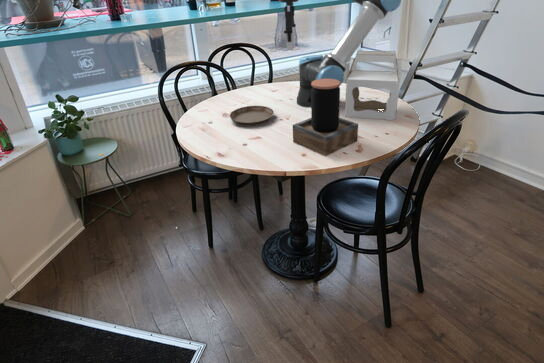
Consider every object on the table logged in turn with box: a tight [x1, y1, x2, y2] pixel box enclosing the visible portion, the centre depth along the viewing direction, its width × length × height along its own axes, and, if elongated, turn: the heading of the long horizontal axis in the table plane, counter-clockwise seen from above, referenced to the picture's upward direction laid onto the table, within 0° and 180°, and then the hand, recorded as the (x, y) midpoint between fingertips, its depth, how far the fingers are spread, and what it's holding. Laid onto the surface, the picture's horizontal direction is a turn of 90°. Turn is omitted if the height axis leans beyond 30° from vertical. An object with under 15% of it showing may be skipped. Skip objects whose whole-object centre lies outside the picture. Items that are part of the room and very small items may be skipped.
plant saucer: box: [229, 105, 275, 127], centre depth 176 cm, size 21×21×3 cm
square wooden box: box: [292, 117, 359, 157], centre depth 148 cm, size 18×18×8 cm
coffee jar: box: [310, 79, 341, 133], centre depth 143 cm, size 11×11×18 cm
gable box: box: [344, 50, 402, 121], centre depth 167 cm, size 22×13×28 cm, turn 70°
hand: (290, 46), depth 160 cm, fingers open, 13 cm apart
